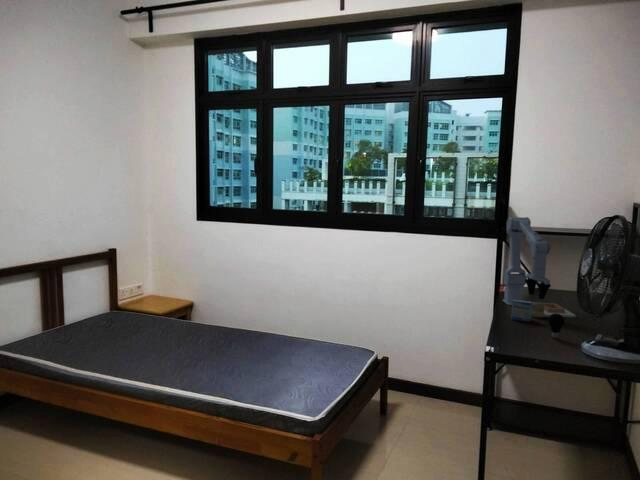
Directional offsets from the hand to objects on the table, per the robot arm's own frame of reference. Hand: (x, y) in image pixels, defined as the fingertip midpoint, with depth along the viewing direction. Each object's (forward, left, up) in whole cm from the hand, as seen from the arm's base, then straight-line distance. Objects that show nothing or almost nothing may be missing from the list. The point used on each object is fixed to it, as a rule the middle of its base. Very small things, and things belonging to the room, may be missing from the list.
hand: (536, 296), depth 216 cm
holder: (-9, +11, -9) cm, 17 cm away
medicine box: (+6, -8, -10) cm, 14 cm away
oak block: (-1, +1, -10) cm, 10 cm away
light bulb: (+31, -4, -10) cm, 33 cm away
